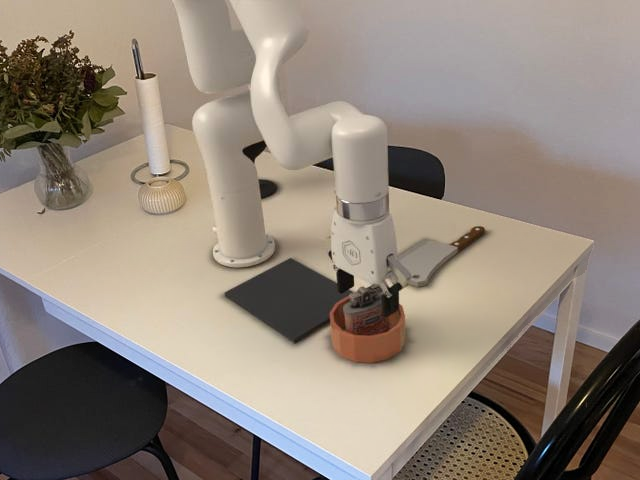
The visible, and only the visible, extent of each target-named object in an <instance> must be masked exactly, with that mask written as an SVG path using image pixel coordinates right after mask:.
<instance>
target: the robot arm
mask: <svg viewBox="0 0 640 480" xmlns="http://www.w3.org/2000/svg"><path fill="white" fill-rule="evenodd" d="M171 2H172V4H173V6H174V9H175V11H176V15H177V18H178V22H179V27H180V33H181V38H182V43H183V45H184V46H183V47H184V51H185V57H186V61H187V62H186V63H187V66H188V71H189V74H190V78H191V80H192V83H193V85H194V87H195V88H196V89H197V90H198V91H199V92H201V93H202V94H207V95H208V94H211V95H212V94H217V93H218V94H219V93H223V92H225V91H229V90H233V89H236V88H240V87H243V86H246V85H247V87H248V89H247V90H244V91H240V92H238V93H233V94H229V95H227V96H224V97H220V98H216V99H214V100H211V101H208V102H207V103H205V104H203V105H201V106H200V107H199V108H198V109H197V110H196V111H195V112H194V114H193V116H192V120H191V126H192V131H193V134H194V137H195V141H196V142H197V145H198V148H199V150H200V154H201V157H202V161H203V164H204V168H205V173H206V178H207V184H208V188H209V193H210V200H211V205H212V212H213V217H214V222H215V225H214V226H213V227H212V228H211V229H212V230H211V231H212V232H213V233H214V234H216V236H217V243H215V245H214V246H213V248H212V254H213V258H214V260H215V261H216V262H217V263H218V264H220V265H222V266H225V267H229V268H247V267H248V268H249V267H252V266H256V265H259V264H262V263H264V262H265V261H266V260H268V259H270V257H272V256H273V254H274V253H275V250H276V243H275V241H274V239H273V237H271V236H270V235H268V234H267V233H266V226H265V225H266V224H265V219H264V211H263V203H262V199H261V195H260V188H259V180H258V179H259V174H258V169H257V166H256V165H254V163H253V162H252V161H251V160H250V159H249V158H248V157H247V156H245V155H244V154H243V152H242V150H243V149H244V148H245V147H247V146H250V145H252V144H254V143H257V142H260V141H263V140H264V141H265V143H266V145H267V147H266V148H268V150H269V152H270V154H271V155H272V157H273V159H274V160H275V161H276V162H277V163H278V165H279V166H281V167H282V168H284V169H286V170H288V171H299V170H303V169H306V168H309V167H311V166H315V165H317V164H319V163H322V162H324V161H327V160H329V159H332V164H333V175H334V176H333V177H334V191H333V192H334V194H335V203H336V205H335V207H334V208H333V213H332V218H331V227H330V228H331V229H330V232H331V233H330V235H329V236H327V237H326V238H324V239H323V242H324V245H325V247H326V249H327V251H328V253H327V255H328V258H330V260H331V262H332V263H333V264H332V269H333V270H334V271H335V272H336V273H335V274H336V275H335V276H336V283H337V289H338V292H339V293H341V294H342V293H344V292H346V291H347V290H351V289H352V288H354V287H355V277H356V278H358V279H360V280H361V281H364V282H366V283H368V284H370V285H377V284H379V285H380V287H381V289H382V291H383V292H384V294H383V295H382V296H381V303H382V316H383V317H385V318H387V317H388V316H390V315H392V314H393V313H395V312H396V311H398V310H399V304H400V292H401V291H402V290H403V289H405V288H407V287H408V285H409V281H410V280H411V278H412V275H411V273H410V272H409V271H408V270H407V269H406V268H405V267H404V266H403V265H402V264H401V263H400V262H399V261H398V256H399V255H398V254H399V253H398V243H397V235H396V229H395V223H394V220H393V215H392V213H390V190H389V189H390V185H389V184H390V183H389V182H390V181H389V153H388V152H389V151H388V150H389V149H388V148H389V147H388V129H387V125H386V123H385V122H384V121H383V119H381V118H379V117H378V116H375V115H371V114H365V113H363V112H362V111H360V110H359V109H358V108H357V107H355V106H354V105H353V104H351V103H349V102H347V101H344V100H336V101H331V102H328V103H324V104H322V105H319V106H316V107H311V108H309V109H306V110H303V111H300V112H298V113H294V114H292V115H288V114H287V112H286V111H287V110H286V106H285V98H284V92H283V85H282V78H281V70H280V68H281V67H282V66H283V65H284V64H285V63H286V62H288V61H289V60H290V59H291V58H292V57H293V56H295V55H296V54H297V53H298V52H299V51H300V50H301V49H302V48H303V47H304V46H305V44H306V43H307V41H308V39H309V36H310V31H309V30H310V29H309V26H308V24H307V22H306V20H305V18H304V16H303V14H302V12H301V10H300V8H299V6H298V4H297V2H296V0H229V3H230V5H231V6H232V9H233V11H234V13H235V15H236V17H237V19H238V21H239V23H240V25H241V27H239V28H235V29H233V27H232V24H231V23H232V22H231V18H230V11H229V7H228V4H227V2H226V0H171ZM386 272H387V273H386ZM385 273H386V274H385ZM387 279H389V280H390V282H391V284H392V285H391V286H389V283H388V282H387Z"/></svg>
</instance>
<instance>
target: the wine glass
mask: <svg viewBox="0 0 640 480" xmlns="http://www.w3.org/2000/svg"><path fill="white" fill-rule="evenodd" d="M266 148H268V147H267V145H266V143H265V141H264V140H263V141H260V142H257V143H254V144H252V145H250V146H247V147H245V148H244V149H243V150H242V152H243V154H244V155H245V156H247V157H248V158H249V159H250V160H251V161H252V162H253V163H254V165H255V164H256V162H255V161H256V159H257V158H258V157H259V156H260V155H262V154H263V152H264V151H265V149H266ZM255 166H256V165H255ZM258 180H259V188H260V195H261V200H262V199H266V198H269V197H270V196H273V195H274V194H275V193H276V192H277V190H278V185H277V184H276V183H275V182H274V181H272V180H269V179H263V178H262V179H259V178H258Z"/></svg>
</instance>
